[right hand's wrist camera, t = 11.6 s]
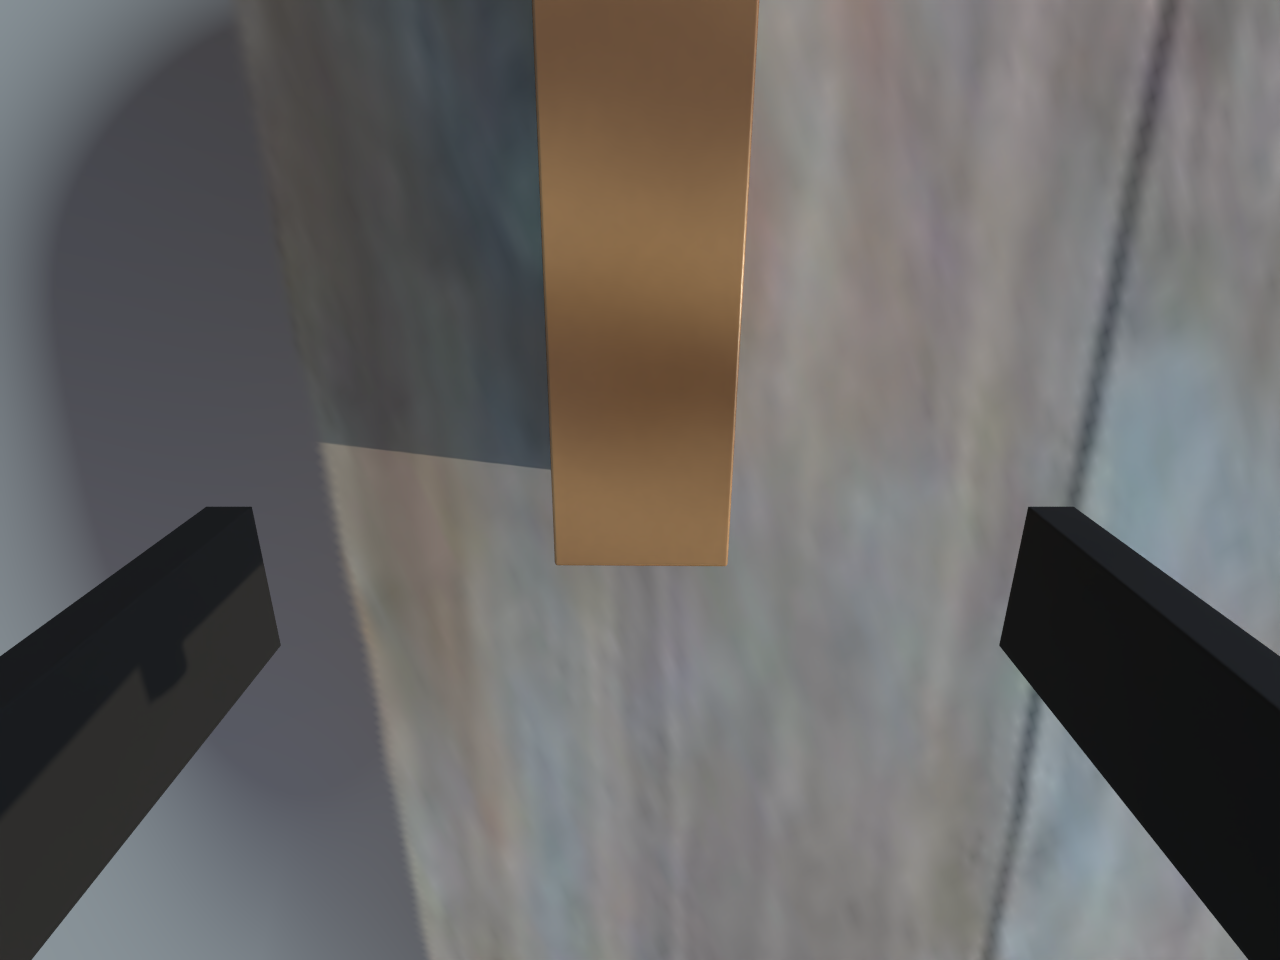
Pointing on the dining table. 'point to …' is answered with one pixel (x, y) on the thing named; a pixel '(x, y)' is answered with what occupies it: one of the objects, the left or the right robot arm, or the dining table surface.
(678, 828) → the dining table surface
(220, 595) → the right robot arm
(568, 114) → the post
